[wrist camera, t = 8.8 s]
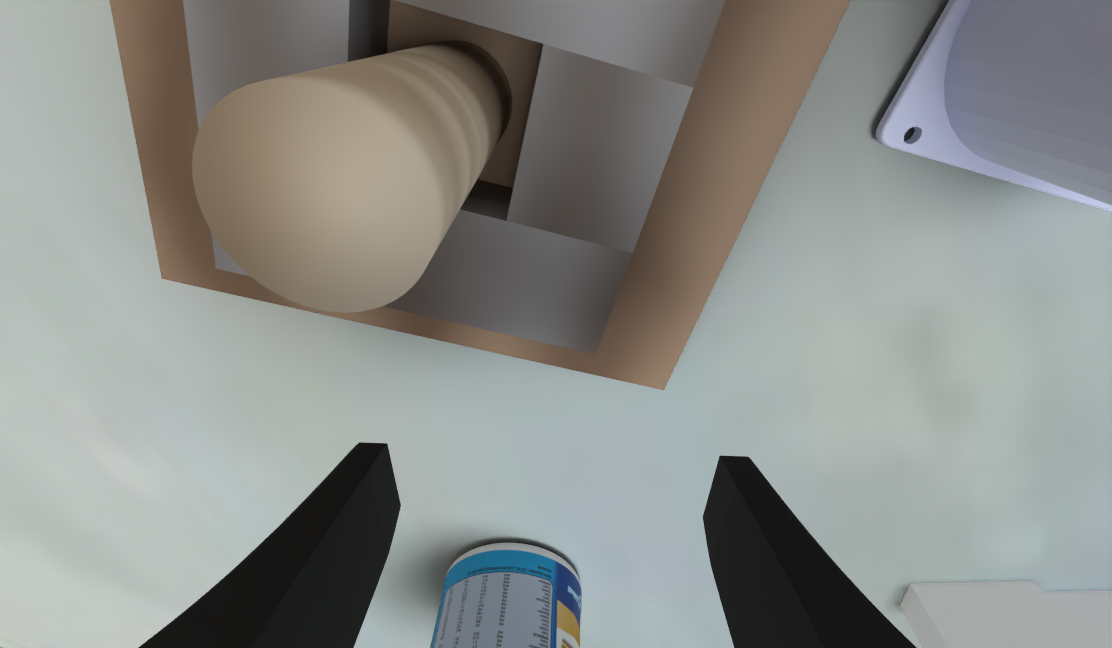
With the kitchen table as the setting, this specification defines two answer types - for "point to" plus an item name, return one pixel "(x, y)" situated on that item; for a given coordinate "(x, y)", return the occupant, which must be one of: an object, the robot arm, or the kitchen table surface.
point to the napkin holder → (1007, 616)
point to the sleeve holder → (517, 154)
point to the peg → (349, 170)
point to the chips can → (509, 600)
